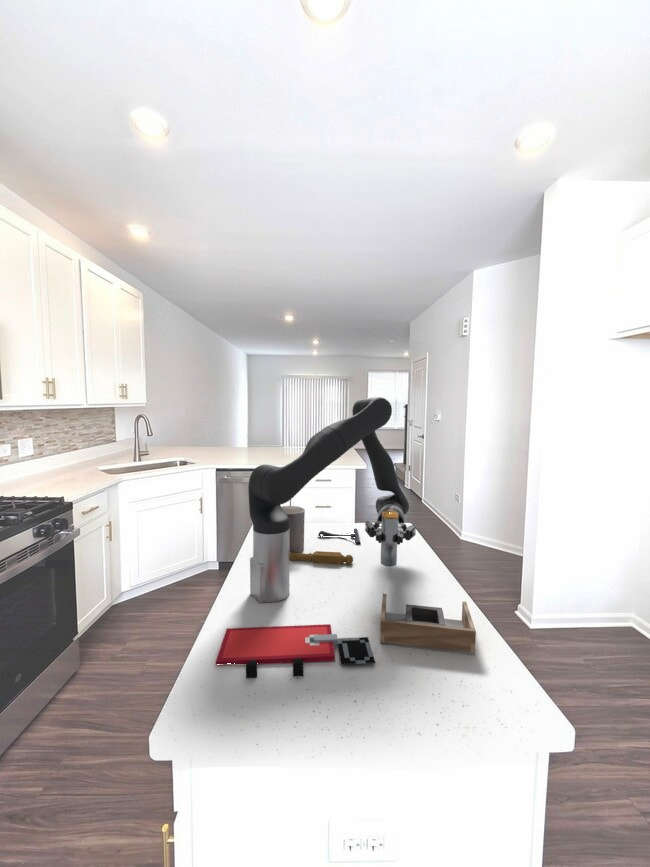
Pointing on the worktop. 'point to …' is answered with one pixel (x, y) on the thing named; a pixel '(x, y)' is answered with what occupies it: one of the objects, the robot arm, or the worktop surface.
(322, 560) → the tap handle
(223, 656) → the red board with handle
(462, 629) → the socket box
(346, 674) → the worktop surface
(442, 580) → the worktop surface
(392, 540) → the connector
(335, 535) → the bracket
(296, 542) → the pillar candle
